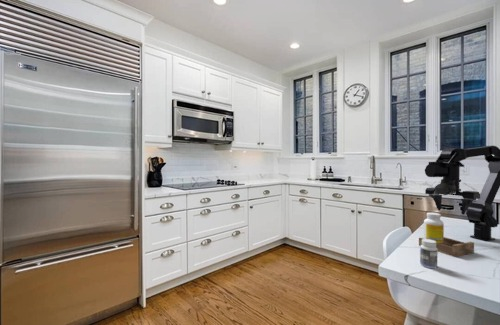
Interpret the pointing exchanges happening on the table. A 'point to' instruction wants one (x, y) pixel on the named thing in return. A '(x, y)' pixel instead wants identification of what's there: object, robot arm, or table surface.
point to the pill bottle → (428, 253)
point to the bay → (453, 247)
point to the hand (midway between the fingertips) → (450, 212)
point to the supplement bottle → (434, 228)
